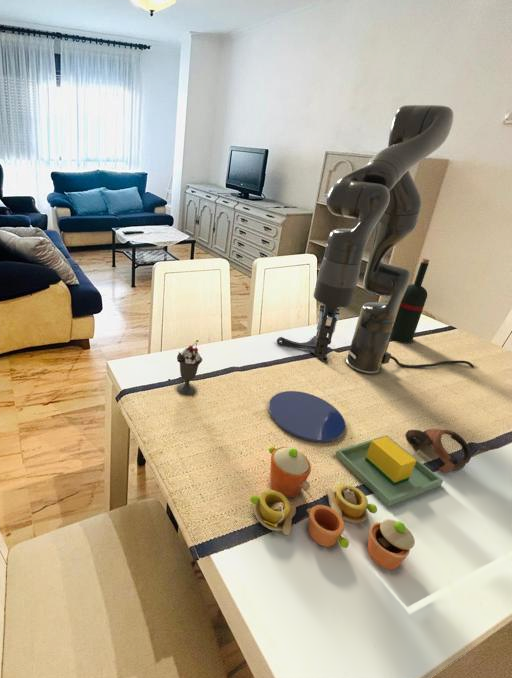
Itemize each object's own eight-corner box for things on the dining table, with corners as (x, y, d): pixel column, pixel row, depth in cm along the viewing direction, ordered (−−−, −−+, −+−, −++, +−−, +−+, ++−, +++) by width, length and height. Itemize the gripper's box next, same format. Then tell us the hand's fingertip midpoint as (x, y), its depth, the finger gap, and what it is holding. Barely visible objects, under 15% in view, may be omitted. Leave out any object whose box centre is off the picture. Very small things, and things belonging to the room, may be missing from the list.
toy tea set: (245, 524, 69) (253, 485, 65) (258, 462, 82) (265, 427, 79) (411, 591, 60) (432, 550, 57) (396, 510, 74) (411, 472, 70)
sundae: (201, 386, 106) (207, 339, 101) (193, 400, 101) (199, 351, 95) (179, 379, 109) (184, 333, 103) (170, 392, 103) (174, 344, 97)
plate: (308, 390, 108) (309, 385, 107) (360, 434, 92) (362, 430, 92) (254, 402, 101) (254, 398, 101) (301, 452, 86) (302, 447, 85)
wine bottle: (378, 329, 146) (402, 253, 134) (409, 335, 142) (436, 258, 131) (382, 338, 139) (407, 259, 127) (414, 345, 135) (443, 264, 124)
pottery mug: (442, 443, 91) (470, 433, 85) (448, 484, 86) (479, 476, 79) (393, 424, 92) (417, 412, 86) (396, 463, 86) (423, 453, 80)
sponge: (379, 455, 86) (386, 436, 84) (408, 480, 80) (416, 460, 78) (364, 460, 84) (371, 440, 82) (393, 486, 78) (401, 465, 76)
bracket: (274, 334, 137) (275, 327, 136) (317, 340, 135) (319, 333, 134) (278, 355, 124) (280, 348, 123) (327, 362, 122) (329, 354, 121)
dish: (384, 441, 90) (386, 435, 90) (440, 487, 79) (443, 480, 78) (334, 457, 85) (336, 450, 84) (387, 508, 74) (390, 501, 73)
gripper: (358, 295, 72) (337, 368, 79) (355, 273, 85) (338, 338, 91) (316, 287, 75) (299, 358, 81) (319, 267, 87) (304, 330, 93)
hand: (319, 347), depth 86 cm, fingers open, 8 cm apart
